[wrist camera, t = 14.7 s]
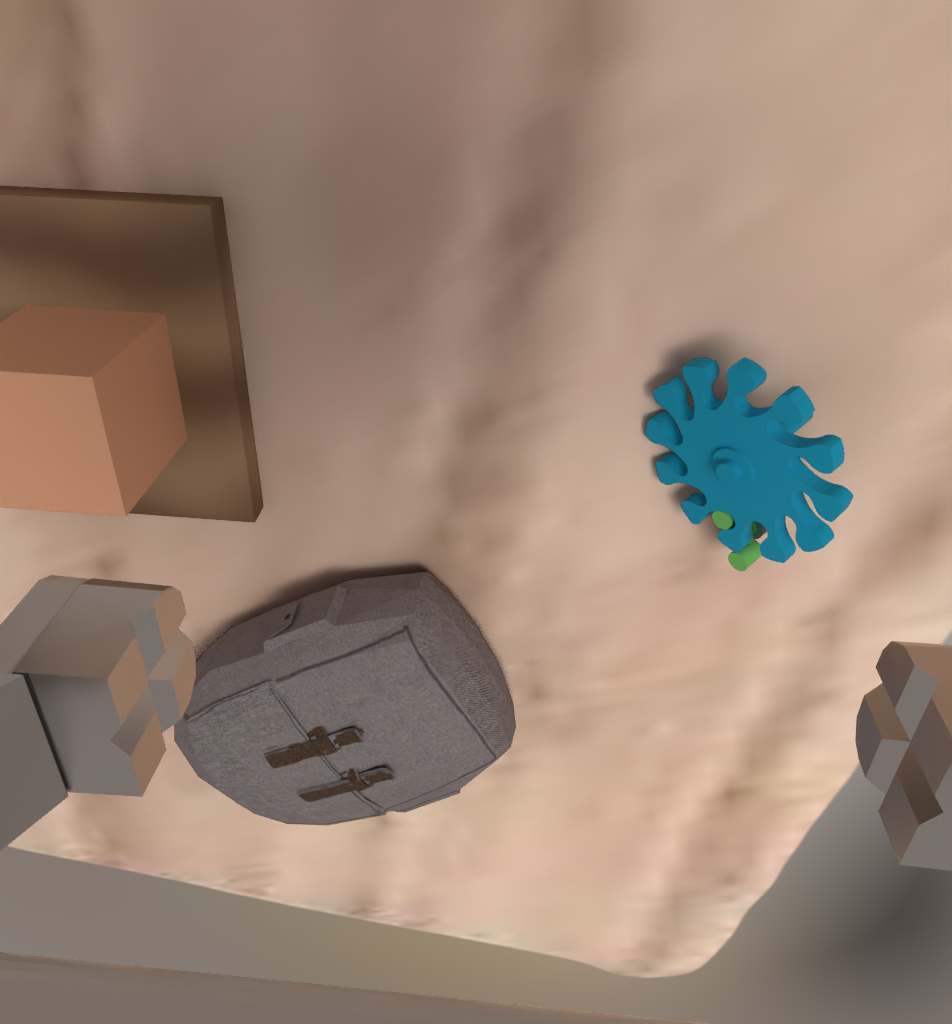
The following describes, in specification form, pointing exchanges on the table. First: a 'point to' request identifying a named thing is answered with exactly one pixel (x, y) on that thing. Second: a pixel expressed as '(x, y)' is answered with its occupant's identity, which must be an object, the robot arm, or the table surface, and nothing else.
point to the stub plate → (155, 289)
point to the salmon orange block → (85, 408)
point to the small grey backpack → (348, 703)
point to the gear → (747, 462)
